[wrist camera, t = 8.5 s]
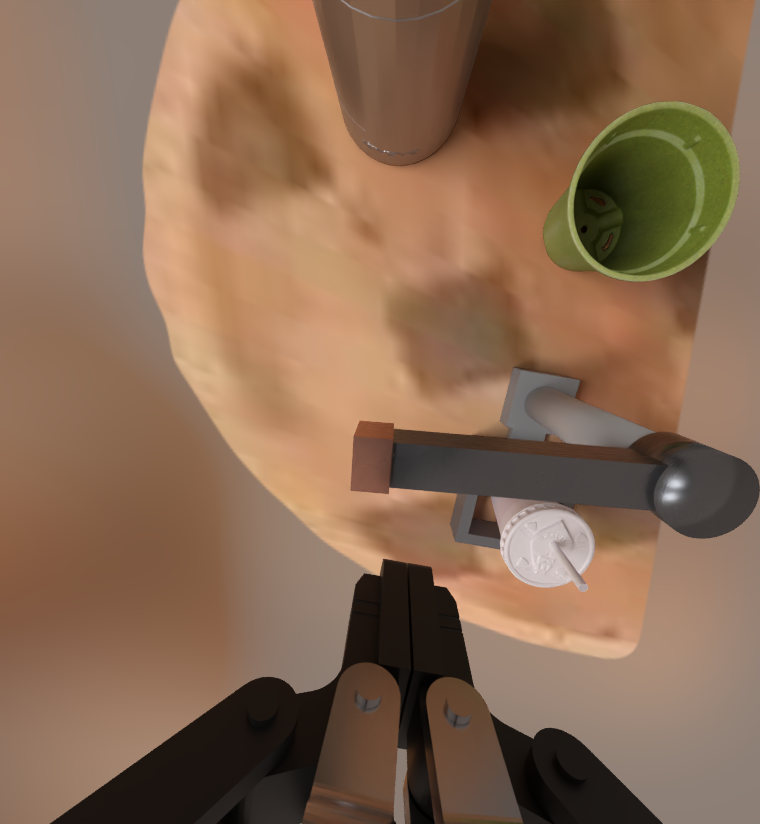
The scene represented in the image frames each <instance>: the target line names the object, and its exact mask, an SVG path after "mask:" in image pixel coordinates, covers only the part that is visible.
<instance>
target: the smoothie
mask: <svg viewBox="0 0 760 824" xmlns="http://www.w3.org/2000/svg"><path fill="white" fill-rule="evenodd" d="M491 500H492V504H493V508H494V512H495V515H496V519H497V523H498V527H499V531H500V535H501V539H500V550H501V554H502V557H503V559H504V562H505V563H506V564H507V566H508V568H509V570H510V571H511V572H512V573H513V575H514V576H515V577H517V578H518V579H519V580H521V581H522V582H524V583H526V584H529V585H532V586H536V587H546V588H548V587H556V586H561V585H564V584H566V583H569V582H571V581H573V582H574V583H575V585H576V586H577V588H578V589H579V590H580V591H582V592H584V591H586V590H587V589H588V585H587V584H586V583H585V581H584V580H583V579H582V577H581V576H580V575H581V574H582V573H583V572H584V571H585V570H586V569H587V567H588V566H589V564H590V563H591V561H592V558H593V556H594V551H595V540H594V536H593V533H592V531H591V529H590V527H589V526H588V525H587V523H586V522H585V521H584V520H583V518H582V517H581V516H580V515H579V514H578V513H577V512H575V511H574V510H572V509H571V508H569V507H566V506H564V505H561V504H559V503H557V502H549V501H537V500H526V499H514V498H503V497H492V496H491Z"/></svg>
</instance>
